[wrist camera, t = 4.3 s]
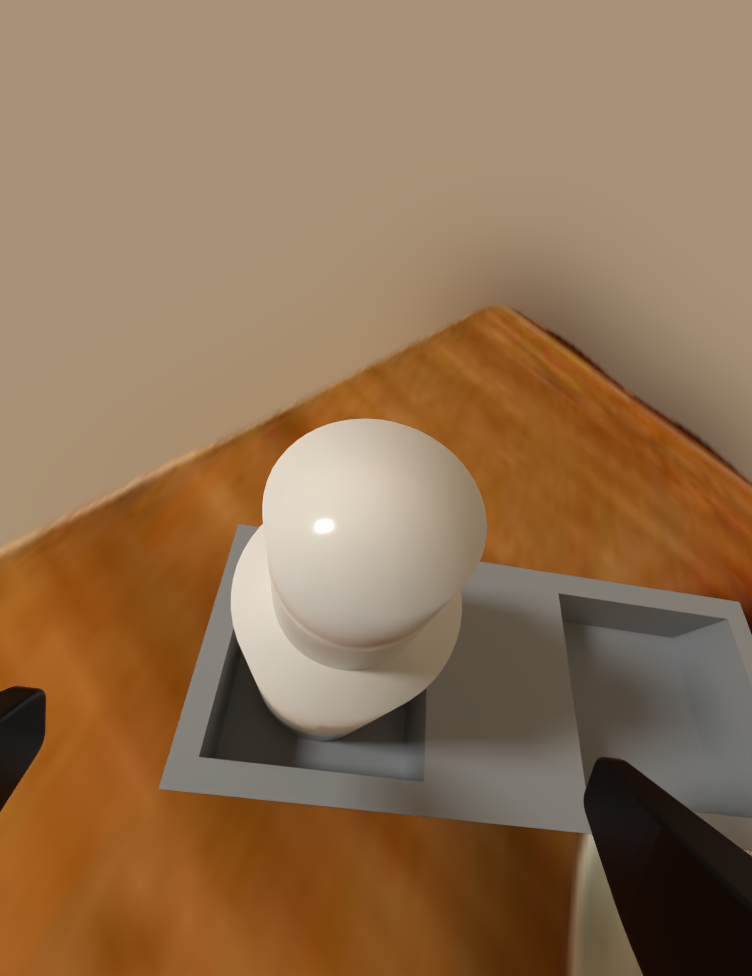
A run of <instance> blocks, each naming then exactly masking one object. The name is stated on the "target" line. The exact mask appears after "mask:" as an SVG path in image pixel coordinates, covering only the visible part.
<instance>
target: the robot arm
mask: <svg viewBox="0 0 752 976" xmlns="http://www.w3.org/2000/svg"><path fill="white" fill-rule="evenodd" d="M45 716H46V695H45V693H44V691H43V690H41V689H38V688H30V687H22V686H14V687H11V688H8V689H6V690H3V691H1V692H0V811H1V810H2V808H3V807H4V805H5V804H6V802H7V800H8V799H9V797H10V796H11V794H12V793H13V791H14V789H15V788H16V786H17V785H18V783H19V782H20V780H21V779H22V777H23V775H24V774H25V772H26V771H27V769H28V768H29V766H30V764H31V763H32V761H33V760H34V758H35V757H36V755H37V753H38V752H39V750H40V748H41V746H42V743H43V740H44V736H45ZM583 802H584V810H585V814H586V817H587V820H588V823H589V826H590V829H591V832H592V835H593V838H594V841H595V844H596V847H597V850H598V853H599V856H600V859H601V862H602V865H603V868H604V871H605V874H606V877H607V880H608V883H609V886H610V889H611V892H612V896H613V899H614V902H615V905H616V907H617V910H618V913H619V916H620V919H621V921H622V924H623V927H624V929H625V932H626V934H627V937H628V940H629V942H630V945H631V947H632V950H633V952H634V954H635V957H636V959H637V962H638V964H639V966H640V969H641V971H642V974H643V976H752V856H750V855H749V854H748V853H746V852H745V851H744V850H742V849H741V848H740V847H739V846H737V845H736V844H735V843H733V842H732V841H731V840H729V839H728V838H727V837H725V836H724V835H723V834H721V833H720V832H719V831H718V830H716V829H715V828H714V827H712V826H711V825H710V824H708V823H707V822H706V821H704V820H703V819H702V818H700V817H699V816H698V815H696V814H695V813H694V812H693V811H691V810H690V809H689V808H687V807H686V806H685V805H683V804H682V803H681V802H679V801H678V800H677V799H675V798H674V797H673V796H671V795H670V794H669V793H668V792H666V791H665V790H664V789H662V788H661V787H660V786H658V785H657V784H656V783H654V782H653V781H652V780H650V779H649V778H648V777H646V776H645V775H644V774H643V773H641V772H640V771H639V770H637V769H636V768H635V767H633V766H632V765H631V764H629V763H628V762H627V761H625V760H623V759H619V758H610V757H599V758H598V759H597V760H596V761H595V763H594V766H593V769H592V772H591V775H590V778H589V781H588V784H587V787H586V789H585V792H584V799H583Z"/></svg>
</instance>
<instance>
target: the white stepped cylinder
mask: <svg viewBox="0 0 752 976" xmlns="http://www.w3.org/2000/svg"><path fill="white" fill-rule="evenodd" d="M262 510H263V524H262V525H261V526H260V527H259V528H258V530H257V531H256V532H255V534H254V535H253V536H252V537H251V539H250V540H249V542H248V543H247V545H246V547H245V548H244V550H243V552H242V554H241V557H240V559H239V561H238V563H237V567H236V570H235V574H234V577H233V582H232V589H231V614H232V621H233V627H234V630H235V634H236V637H237V641H238V643H239V645H240V648H241V650H242V652H243V654H244V657H245V659H246V661H247V663H248V666H249V668H250V670H251V673H252V675H253V677H254V679H255V682H256V684H257V686H258V688H259V691H260V693H261V695H262V698H263V700H264V702H265V704H266V706H267V709H268V710H269V712H270V713H271V715H272V717H273V718H274V719H275V720H276V721H277V722H278V723H279V724H280V725H281V726H282V727H283V728H284V729H285V730H287V731H289V732H290V733H292V734H294V735H296V736H298V737H300V738H304V739H307V740H313V741H329V740H334V739H338V738H341V737H344V736H346V735H348V734H350V733H352V732H354V731H356V730H358V729H359V728H361V727H363V726H365V725H367V724H368V723H370V722H372V721H374V720H376V719H377V718H379V717H381V716H383V715H385V714H386V713H388V712H390V711H392V710H394V709H395V708H397V707H399V706H401V705H403V704H404V703H406V702H408V701H410V700H411V699H412V698H414V697H415V696H417V695H418V694H419V693H421V692H422V691H423V690H424V689H425V688H426V687H427V686H428V685H430V684H431V683H432V682H433V681H434V679H435V678H436V677H437V676H438V674H439V673H440V672H441V671H442V669H443V668H444V666H445V664H446V663H447V661H448V659H449V657H450V656H451V654H452V651H453V649H454V646H455V644H456V641H457V638H458V634H459V630H460V625H461V617H462V595H461V589H462V587H463V586H464V585H465V584H466V583H467V582H468V580H469V579H470V578H471V576H472V575H473V573H474V572H475V570H476V568H477V567H478V564H479V562H480V560H481V557H482V555H483V551H484V547H485V543H486V535H487V520H486V512H485V507H484V503H483V500H482V497H481V494H480V491H479V489H478V487H477V485H476V483H475V481H474V479H473V478H472V476H471V475H470V473H469V471H468V470H467V469H466V467H465V466H464V465H463V464H462V463H461V461H460V460H459V459H458V458H457V457H456V456H455V455H454V454H453V453H452V452H451V451H450V450H448V449H447V448H446V447H445V446H443V445H442V444H441V443H439V442H438V441H436V440H435V439H433V438H432V437H430V436H428V435H426V434H424V433H422V432H421V431H419V430H416V429H414V428H411V427H409V426H406V425H402V424H399V423H395V422H391V421H385V420H378V419H352V420H344V421H339V422H335V423H331V424H328V425H325V426H322V427H320V428H317V429H315V430H313V431H311V432H309V433H307V434H306V435H304V436H303V437H301V438H300V439H298V440H297V441H296V442H295V443H294V444H292V445H291V446H290V447H289V448H288V449H287V450H286V451H285V452H284V453H283V455H282V456H281V457H280V458H279V460H278V461H277V463H276V464H275V466H274V467H273V469H272V471H271V473H270V476H269V478H268V480H267V483H266V487H265V491H264V496H263V505H262Z"/></svg>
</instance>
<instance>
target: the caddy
mask: <svg viewBox="0 0 752 976" xmlns="http://www.w3.org/2000/svg"><path fill="white" fill-rule="evenodd" d="M258 528H259V527H255V526H248V525H242V524H238V527H237V530H236V534H235V537H234V540H233V544H232V547H231V550H230V553H229V557H228V560H227V563H226V567H225V570H224V573H223V577H222V580H221V583H220V587H219V590H218V593H217V597H216V600H215V603H214V607H213V610H212V613H211V617H210V620H209V623H208V626H207V630H206V633H205V636H204V640H203V643H202V646H201V650H200V653H199V656H198V660H197V663H196V666H195V670H194V673H193V676H192V680H191V683H190V686H189V690H188V693H187V696H186V699H185V703H184V706H183V709H182V713H181V716H180V719H179V723H178V726H177V729H176V733H175V736H174V739H173V743H172V746H171V749H170V753H169V756H168V759H167V763H166V766H165V769H164V773H163V776H162V779H161V782H160V786H159V789H165V790H174V791H184V792H194V793H203V794H213V795H222V796H232V797H242V798H251V799H261V800H270V801H280V802H290V803H299V804H309V805H318V806H328V807H337V808H347V809H357V810H366V811H376V812H385V813H395V814H405V815H414V816H424V817H433V818H443V819H453V820H462V821H472V822H481V823H491V824H500V825H510V826H520V827H529V828H539V829H548V830H558V831H568V832H577V833H587V834H592V832H591V829H590V826H589V823H588V820H587V817H586V814H585V810H584V802H583V799H584V792H585V789H586V787H587V784H588V781H589V778H590V775H591V772H592V769H593V766H594V763H595V761H596V760H597V759H598V758H599V757H610V758H619V759H623V760H625V761H627V762H628V763H629V764H631V765H632V766H633V767H635V768H636V769H637V770H639V771H640V772H641V773H643V774H644V775H645V776H646V777H648V778H649V779H650V780H652V781H653V782H654V783H656V784H657V785H658V786H660V787H661V788H662V789H664V790H665V791H666V792H668V793H669V794H670V795H671V796H673V797H674V798H675V799H677V800H678V801H679V802H681V803H682V804H683V805H685V806H686V807H687V808H689V809H690V810H691V811H693V812H694V813H695V814H696V815H698V816H699V817H700V818H702V819H703V820H704V821H706V822H707V823H708V824H710V825H711V826H712V827H714V828H715V829H716V830H718V831H719V832H720V833H721V834H723V835H724V836H725V837H727V838H728V839H729V840H731V841H732V842H733V843H735V844H736V845H737V846H739V847H740V848H741V849H742V850H750V851H752V635H751V632H750V630H749V627H748V624H747V621H746V619H745V616H744V613H743V611H742V608H741V605H740V602H736V601H730V600H723V599H717V598H710V597H704V596H698V595H691V594H685V593H678V592H672V591H665V590H659V589H653V588H646V587H640V586H633V585H627V584H621V583H614V582H608V581H601V580H595V579H588V578H582V577H576V576H569V575H563V574H556V573H550V572H544V571H537V570H531V569H524V568H518V567H511V566H505V565H499V564H492V563H486V562H479V564H478V567H477V568H476V570H475V572H474V573H473V575H472V576H471V578H470V579H469V580H468V582H467V583H466V584H465V585H464V586H463V587H462V589H461V595H462V617H461V625H460V630H459V634H458V638H457V641H456V644H455V646H454V649H453V651H452V654H451V656H450V657H449V659H448V661H447V663H446V664H445V666H444V668H443V669H442V671H441V672H440V673H439V674H438V676H437V677H436V678H435V679H434V681H433V682H432V683H431V684H430V685H428V686H427V687H426V688H425V689H424V690H423V691H422V692H421V693H419V694H418V695H417V696H415V697H414V698H412V699H411V700H410V701H408V702H406V703H404V704H403V705H401V706H399V707H397V708H395V709H394V710H392V711H390V712H388V713H386V714H385V715H383V716H381V717H379V718H377V719H376V720H374V721H372V722H370V723H368V724H367V725H365V726H363V727H361V728H359V729H358V730H356V731H354V732H352V733H350V734H348V735H346V736H344V737H341V738H338V739H334V740H329V741H313V740H307V739H304V738H300V737H298V736H296V735H294V734H292V733H290V732H289V731H287V730H285V729H284V728H283V727H282V726H281V725H280V724H279V723H278V722H277V721H276V720H275V719H274V718H273V717H272V715H271V713H270V712H269V710H268V709H267V706H266V704H265V702H264V700H263V698H262V695H261V693H260V691H259V688H258V686H257V684H256V682H255V679H254V677H253V675H252V673H251V670H250V668H249V666H248V663H247V661H246V659H245V657H244V654H243V652H242V650H241V648H240V645H239V643H238V641H237V637H236V634H235V630H234V627H233V621H232V614H231V589H232V582H233V577H234V574H235V570H236V567H237V563H238V561H239V559H240V557H241V554H242V552H243V550H244V548H245V547H246V545H247V543H248V542H249V540H250V539H251V537H252V536H253V535H254V534H255V532H256V531H257V530H258Z"/></svg>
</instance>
